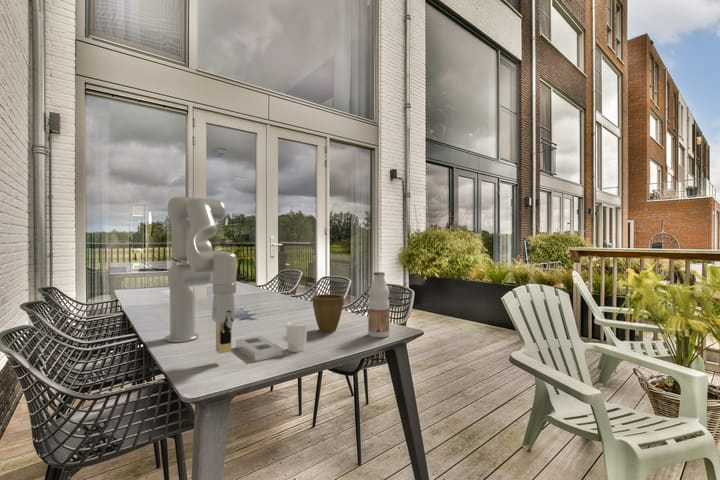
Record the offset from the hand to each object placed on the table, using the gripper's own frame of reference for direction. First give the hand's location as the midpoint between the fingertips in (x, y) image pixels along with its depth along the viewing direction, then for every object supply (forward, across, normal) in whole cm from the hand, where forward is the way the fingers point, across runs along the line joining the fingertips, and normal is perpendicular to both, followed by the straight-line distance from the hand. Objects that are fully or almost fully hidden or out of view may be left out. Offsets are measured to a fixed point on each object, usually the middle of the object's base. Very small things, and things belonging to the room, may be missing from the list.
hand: (223, 341), depth 124 cm
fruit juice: (+7, +5, +66) cm, 67 cm away
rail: (+7, -4, +14) cm, 16 cm away
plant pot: (+8, -15, +52) cm, 55 cm away
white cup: (+7, +2, +27) cm, 28 cm away
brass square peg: (+3, 0, 0) cm, 3 cm away
